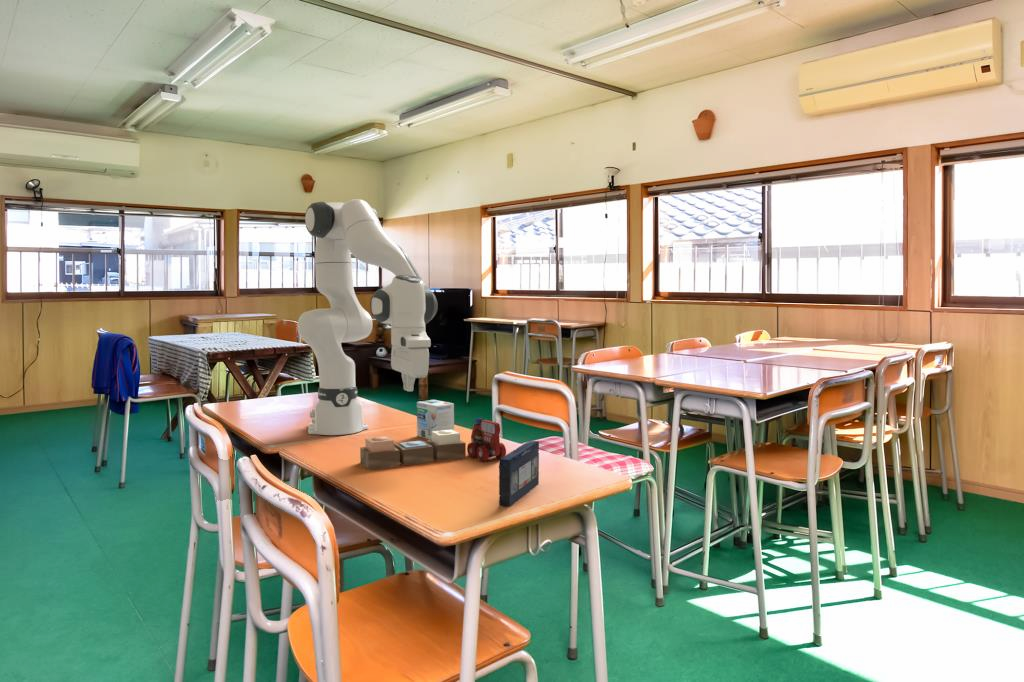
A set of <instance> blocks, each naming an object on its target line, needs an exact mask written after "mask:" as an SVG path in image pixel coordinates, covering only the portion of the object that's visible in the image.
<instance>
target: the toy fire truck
mask: <svg viewBox="0 0 1024 682" xmlns="http://www.w3.org/2000/svg"><path fill="white" fill-rule="evenodd" d="M472 426H473V427H472V430H471V434H470V435H471V436H470V440H471V441H470V442H469V443H468V444H467V445H466V446H467V448H466V451H467V454H468V456H469V457H470V458H471V459H472V458H473V459H474V458H477V459H478V460H479V462H481V463H484V462H487V461H488V460H489V458H492V457H495V458H496V459H499V460H500V459H501V458H503V457H504V456H506V455H507V448H506V446H505V444H504V443H502V442H500V441H501V439H500V434H501V425H500V422H496V421H491V420H488V419H484V420H483V418H482V417H477V418H476V420H475V423H474V424H473V425H472Z"/></svg>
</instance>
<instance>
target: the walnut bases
mask: <svg viewBox="0 0 1024 682" xmlns="http://www.w3.org/2000/svg"><path fill="white" fill-rule="evenodd" d="M421 441H422V442H424V443H425V444H427V445H428V447H419V448H410V449H405V448H403V447H402V446H400V445H399V443H400V442H398V443H394V450H392V451H383V452H374V453H370V452H369V451H368V450H366V446H363V447H361V446H360V447H359V448H360V449H359V450H360V451H359V453H360V463H361V465H363V466H364V468H366V469H367V470H368V471H370V470H379V469H386V468H394V467H401V465H402V466H411V465H419V464H428V463H433V462H434V461H436V462H442V461H450V460H451V461H452V460H459V459H466V458H467V455H466V454H467V453H466V451H467V448H466V446H467V445H466V442H464V441H462V440H461V439H460V443H454V444H446V445H437V444H436V443H434V442H432V440H429V439H426V441H425V440H421Z"/></svg>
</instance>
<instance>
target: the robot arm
mask: <svg viewBox="0 0 1024 682" xmlns="http://www.w3.org/2000/svg"><path fill="white" fill-rule="evenodd" d="M304 215H305V219H304V221H305V222H304V223H305V227H306V230H307V231H308V233H309V234H310V235H311V236H313V237H315V238H316V240H315V249H314V264H315V265H314V266H315V267H314V270H315V271H314V272H315V287H316V290H317V291H318V293H320V294H321V295H323V296H324V297H326V299H327V300H328V303H329V306H330V307H329V308H315V309H312V310H311V309H310V310H308V311H304V312H303V313H302V314H301V315H300V317H299V318H298V321H297V326H296V327H297V332H298V335H299V337H300V339H301V340H302V341H303V342H304V343H305V344H307V345H308V346H309V347H310V349H311V350H312V352H313V354H314V355H315V358H316V362H317V366H318V379H319V382H318V383H319V387H318V389H317V399H318V401H317V402H316V405H315V406H314V409H311V410H309V418H310V419H311V422H308V429H307V434H308V435H322V436H342V435H343V436H344V435H351V434H355V433H356V434H357V433H359V432H361V431H363V430H367V429H369V425H368V424H365V423H364V414H363V404H362V402H360V401H359V399H357V398H358V387H357V386H356V363H355V360H353V358H351V357H350V356H348V355H347V354H346V353H345V352H344V350H343V347H342V343H354V342H357V341H361V340H364V339H366V338H368V337H369V336H370V334H371V333H372V331H373V326H374V325H373V319H375V320H376V322H378V323H381V324H391V327H390V328H391V329H390V330H391V331H390V336H391V337H390V342H391V343H390V344H391V354H390V355H391V356H390V357H391V359H390V367H391V369H392V370H394V371H396V372H399V373H401V379H402V383H403V390H404V391H407V392H408V393H409V392H413V391H414V385H415V381H416V379H421V378H426V377H427V376H428V372H429V364H430V360H429V359H430V352H429V348H431V345H432V343H431V342H432V341H431V338H430V337H429V336H428V335H427V332H426V325H427V324H429V323H430V321H431V320H433V318H434V317H435V316H436V314H437V312H438V305H439V304H438V300H437V298H436V297H437V296H436V295H435V293H434V292H433V291H432V290H431V288H430V287H428V286H427V284H425V281H424V280H423V279H422V277H421V275H420V274H419V272H418V271H417V269H416V267H415V266H414V264H413V263H412V261H411V259H410V258H409V256H408V255H407V253H406V252H405V251H404V249H403V248H402V247H401V246H400V245H398V244H396V243H395V242H394V241H393V240H392V239H391V238H390V236H388V234H387V233H386V232H385V230H384V229H383V226H382V224H381V222H380V220H379V218H380V217H379V214H378V212H377V210H376V209H375V207H373V206H371V205H370V204H369V203H368V202H367V201H366V200H364V199H360V198H353V199H349V200H348V201H347V200H346V201H341V202H338V201H337V202H335V201H334V202H333V201H332V202H330V201H329V202H325V201H318V202H317V201H316V202H312V203H311V204H310V205H309V206H308V207H307V209H306V211H305V214H304ZM352 256H353V257H354V258H355V259H356V260H358V261H359V262H362V263H365V264H369V265H371V266H376V267H379V268H382V269H385V270H387V271H390V272H391V273H392V274H394V277H392V281H391V283H389V285H386V286H385V287H382V288H379V289H377V290H376V291H375V292H374V293H373V294H372V296H371V297H370V302H369V303H370V304H369V305H370V307H369V309H370V313H369V312H368V311H367V310H366V309H365V308H364V307H363V306H362V305H361V303H360V301H359V299H358V297H357V295H356V293H355V292H356V291H355V289H354V280H353V269H352V268H353V267H352V263H353V261H352ZM370 314H371V315H372V316H371V315H370ZM372 317H373V319H372Z"/></svg>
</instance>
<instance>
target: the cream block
mask: <svg viewBox="0 0 1024 682" xmlns="http://www.w3.org/2000/svg"><path fill="white" fill-rule="evenodd" d="M460 440H461V433H460V432H458V431H456V430H455V429H454V430H452V429H451V430H441V431H432V442H434V443H436V444H437V445H446V444H454V443H460Z"/></svg>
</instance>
